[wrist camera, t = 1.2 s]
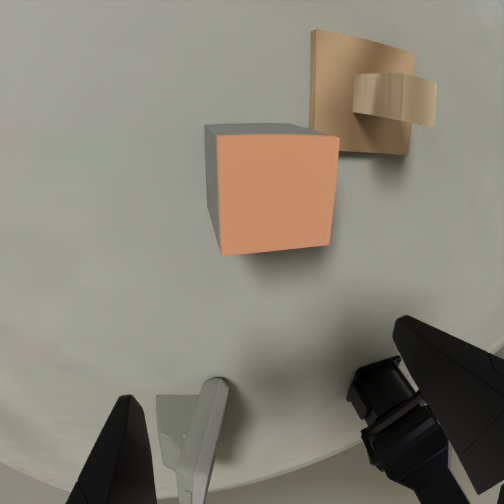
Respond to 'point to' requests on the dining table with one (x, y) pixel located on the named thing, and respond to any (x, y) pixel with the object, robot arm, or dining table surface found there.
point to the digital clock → (192, 436)
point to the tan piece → (366, 94)
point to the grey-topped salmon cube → (270, 186)
